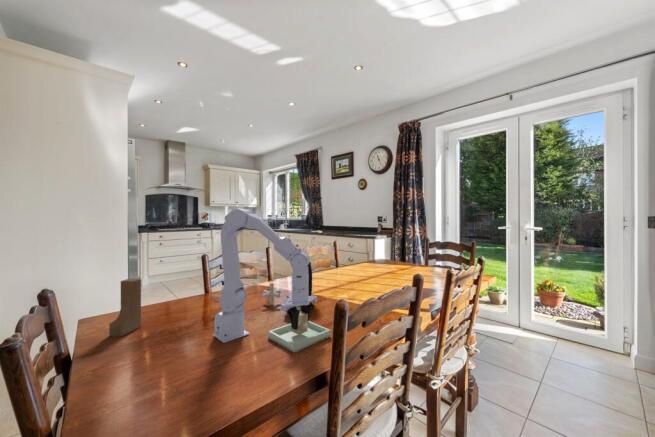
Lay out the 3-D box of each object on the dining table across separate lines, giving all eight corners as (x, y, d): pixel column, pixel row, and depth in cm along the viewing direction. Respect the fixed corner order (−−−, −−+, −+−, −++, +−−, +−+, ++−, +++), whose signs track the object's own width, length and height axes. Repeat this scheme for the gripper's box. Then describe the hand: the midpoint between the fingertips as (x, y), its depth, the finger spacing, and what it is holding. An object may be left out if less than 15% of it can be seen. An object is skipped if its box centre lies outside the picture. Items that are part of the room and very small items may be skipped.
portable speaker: (289, 302, 133) (289, 261, 133) (305, 298, 139) (306, 259, 139) (298, 307, 126) (298, 264, 126) (315, 303, 132) (315, 262, 132)
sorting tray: (294, 353, 85) (294, 345, 85) (268, 338, 94) (268, 331, 94) (330, 337, 96) (330, 329, 96) (304, 325, 106) (304, 318, 106)
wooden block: (120, 337, 94) (120, 284, 94) (108, 336, 95) (108, 284, 94) (141, 326, 103) (141, 278, 103) (130, 326, 104) (130, 277, 103)
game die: (295, 323, 117) (309, 302, 120) (291, 323, 109) (306, 301, 112) (279, 310, 120) (292, 291, 122) (273, 310, 112) (288, 288, 114)
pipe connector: (270, 309, 123) (270, 287, 123) (255, 305, 129) (256, 283, 129) (286, 304, 131) (286, 282, 131) (272, 299, 137) (272, 279, 137)
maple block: (298, 334, 93) (298, 316, 93) (291, 331, 95) (291, 313, 95) (307, 331, 95) (307, 313, 95) (299, 327, 98) (300, 311, 98)
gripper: (290, 294, 87) (290, 337, 87) (323, 285, 97) (323, 324, 98) (277, 289, 92) (277, 330, 92) (309, 282, 102) (309, 318, 103)
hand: (299, 326), depth 95 cm, fingers closed on maple block, 4 cm apart
